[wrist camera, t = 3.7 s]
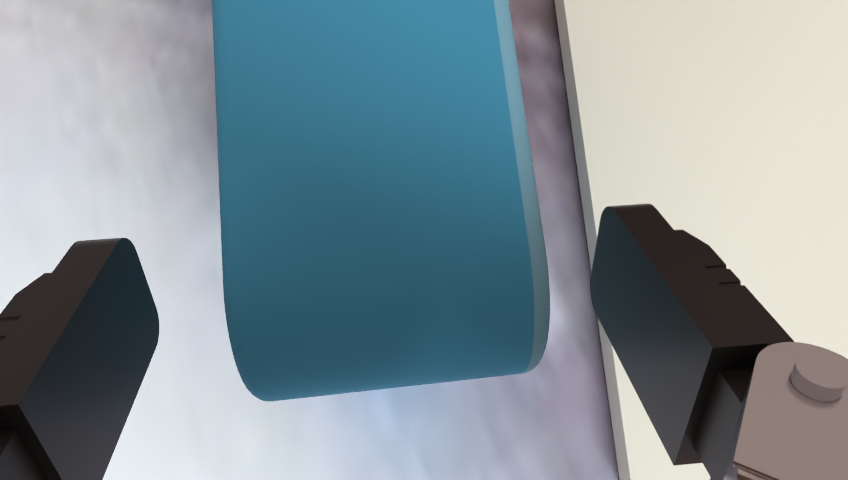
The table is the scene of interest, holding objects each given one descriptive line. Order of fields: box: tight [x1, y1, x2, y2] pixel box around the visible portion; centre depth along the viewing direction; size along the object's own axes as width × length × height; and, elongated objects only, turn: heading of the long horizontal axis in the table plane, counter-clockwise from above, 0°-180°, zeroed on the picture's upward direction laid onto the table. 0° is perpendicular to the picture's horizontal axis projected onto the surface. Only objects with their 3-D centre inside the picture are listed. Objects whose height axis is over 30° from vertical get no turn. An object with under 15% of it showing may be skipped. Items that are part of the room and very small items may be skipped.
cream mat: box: [554, 0, 848, 480], centre depth 21 cm, size 14×18×1 cm
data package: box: [212, 0, 550, 401], centre depth 15 cm, size 12×4×12 cm, turn 6°
